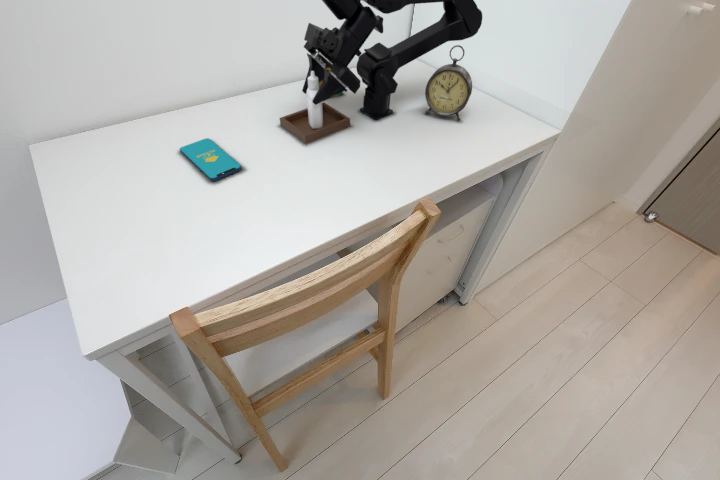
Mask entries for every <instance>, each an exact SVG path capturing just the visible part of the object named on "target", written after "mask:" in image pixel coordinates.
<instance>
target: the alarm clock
mask: <svg viewBox="0 0 720 480" xmlns="http://www.w3.org/2000/svg"><path fill="white" fill-rule="evenodd" d="M455 48H460V49H461V50H462V56H461V57H460V58H459V59H458V58H456V57H454V58H453V57H452V51H453V49H455ZM449 57H450V59H451V60H452V63H448V64H444V65H442V66H440V67H439V68H438V69H436V70H435V71H434V72H433V74H432V75H431V76H430V77H429V79H428V81H427V83H426V86H425V91H424V96H425V101H426V104H427V105H428V107H429V108H428V110H427V111H425V114H426V115H429V113H430V112H434V113H435V114H437V115H439V116H443V117H451V116H454V115H455V117H456V118H457V121H461V118H460V114H459V113H460V112H461V111H462V110H464V108H465V107H466V106H467V104H468V102H469V100H470V98H471V95H472V92H473V80H472V77H471V75H470V73H469V72H468V70H467V69H466V68H464V67H463V66H462V65H459V64H457V62H459V61H461V60H463V58H464V57H465V49H464V46H461V45H460V44H456V45H453V46H452V47H451V48H450V50H449Z"/></svg>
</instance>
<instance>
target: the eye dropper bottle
mask: <svg viewBox="0 0 720 480" xmlns="http://www.w3.org/2000/svg"><path fill="white" fill-rule="evenodd" d="M318 90H319V80H318V77H317V76H315V73H314V71H311V75H310V76H309V77H308V89H307V92H306V94H305V95H306V105H307V108H308V118H309V125H310V126H311V127H312V128H313V129H320V128H322V127H323V111H322V103H323V101H322V102H320V103H319V104H317V105H315V104H314V103H313V102H312V101H313V99H314V97H315V95H316V93H317V91H318Z"/></svg>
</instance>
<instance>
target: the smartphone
mask: <svg viewBox="0 0 720 480" xmlns="http://www.w3.org/2000/svg"><path fill="white" fill-rule="evenodd" d="M179 151H180V153H181V154H182V155H183V156H184V157H185V158H186V159H187V160H189V162H190V163H191V164H192V165H193V166H195V168H197V169H198V171H200V172H201V173H202V174H203V176H205V177H206V178H207V179H208V180H209V181H210V182H215V181H216V182H217V181H218V180H220V179H223V178H225V177H228V176H230V175H232V174H234V173H236V172H237V173H238V172H240V171H241V170H242V165H241V164H240V163H239V162H238V161H236V159H234V158H233V157H232V156H230V155H229V153H227V152H226V151H225V150H224V149H222V148H221V147H220V146H219V145H218V144H216V143H215V142H214V141H213V140H212V139H211V138H202V139H200V140H198V141H195V142H192V143H189V144H186V145H184V146H181V147H180V148H179Z"/></svg>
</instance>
